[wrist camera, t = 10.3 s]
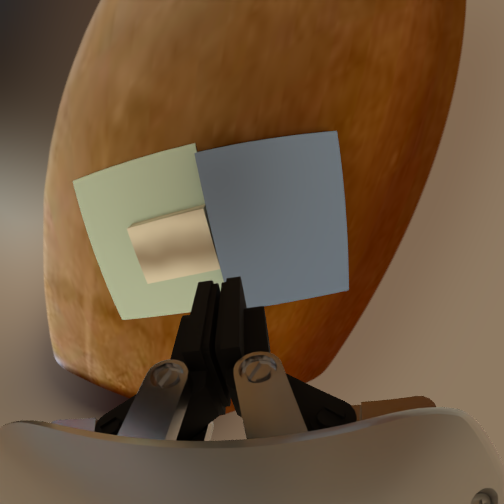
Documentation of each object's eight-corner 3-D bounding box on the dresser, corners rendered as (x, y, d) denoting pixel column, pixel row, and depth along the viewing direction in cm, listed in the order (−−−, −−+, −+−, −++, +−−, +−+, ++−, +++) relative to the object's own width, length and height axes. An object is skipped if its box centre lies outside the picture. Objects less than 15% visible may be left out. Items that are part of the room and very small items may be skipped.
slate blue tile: (198, 151, 28) (194, 153, 25) (328, 131, 27) (336, 131, 25) (232, 297, 35) (231, 311, 32) (341, 278, 34) (348, 290, 32)
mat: (73, 180, 28) (72, 181, 28) (195, 143, 28) (194, 143, 27) (122, 318, 36) (122, 319, 36) (232, 304, 35) (232, 305, 35)
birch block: (133, 223, 30) (126, 228, 29) (205, 203, 30) (203, 208, 28) (152, 276, 33) (147, 283, 31) (221, 261, 33) (220, 269, 31)
